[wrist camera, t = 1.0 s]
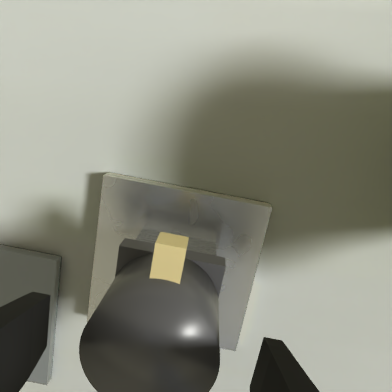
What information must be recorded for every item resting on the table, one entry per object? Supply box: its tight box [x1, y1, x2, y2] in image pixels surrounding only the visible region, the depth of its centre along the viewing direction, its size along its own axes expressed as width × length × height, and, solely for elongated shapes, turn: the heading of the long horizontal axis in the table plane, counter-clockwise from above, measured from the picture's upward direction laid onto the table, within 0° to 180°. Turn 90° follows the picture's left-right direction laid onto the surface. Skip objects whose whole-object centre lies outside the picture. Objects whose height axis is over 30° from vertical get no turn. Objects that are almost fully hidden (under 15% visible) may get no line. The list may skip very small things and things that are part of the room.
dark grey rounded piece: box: [79, 232, 226, 392], centre depth 11 cm, size 6×4×4 cm
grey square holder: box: [87, 172, 272, 351], centre depth 15 cm, size 8×8×3 cm
